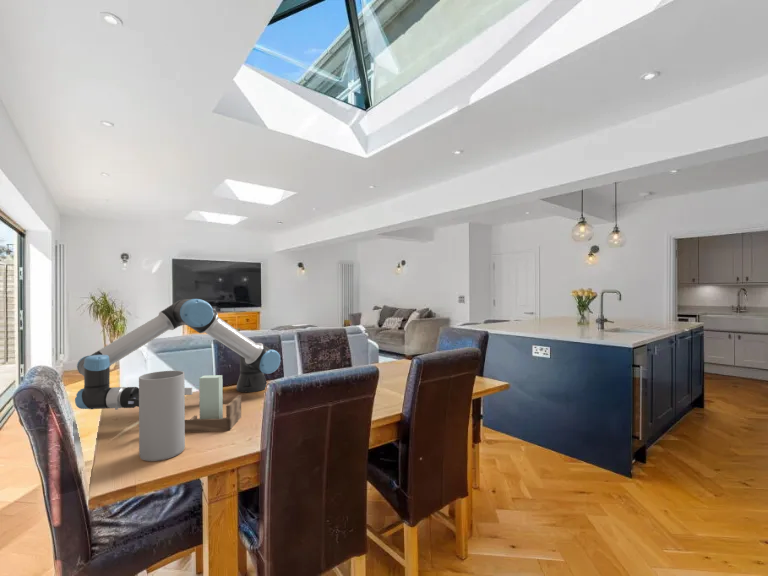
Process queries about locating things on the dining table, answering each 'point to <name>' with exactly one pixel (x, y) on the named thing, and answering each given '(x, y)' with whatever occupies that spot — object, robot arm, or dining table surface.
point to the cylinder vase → (161, 415)
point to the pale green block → (211, 397)
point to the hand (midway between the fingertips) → (184, 395)
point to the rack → (217, 424)
